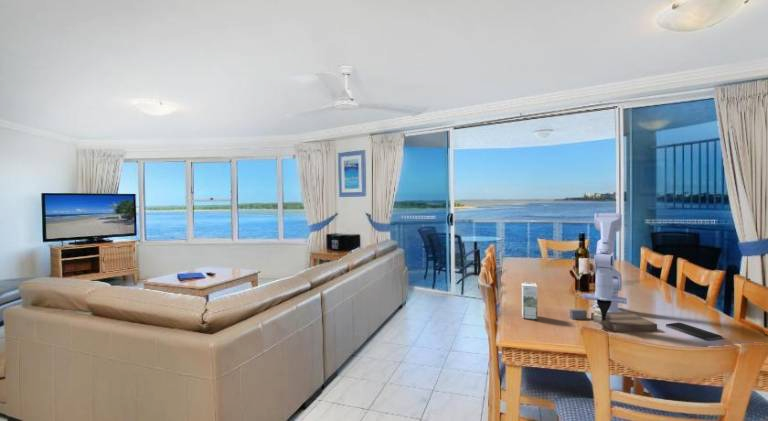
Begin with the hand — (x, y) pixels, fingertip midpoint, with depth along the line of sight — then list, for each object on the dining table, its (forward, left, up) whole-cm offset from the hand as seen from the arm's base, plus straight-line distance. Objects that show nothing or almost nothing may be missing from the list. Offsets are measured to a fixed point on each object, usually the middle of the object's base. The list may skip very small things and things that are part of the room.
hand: (604, 319), depth 139 cm
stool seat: (-3, +9, -3) cm, 10 cm away
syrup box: (-14, -23, -3) cm, 27 cm away
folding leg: (-4, 0, 0) cm, 4 cm away
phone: (+6, +29, -4) cm, 30 cm away
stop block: (-11, -4, -3) cm, 12 cm away
